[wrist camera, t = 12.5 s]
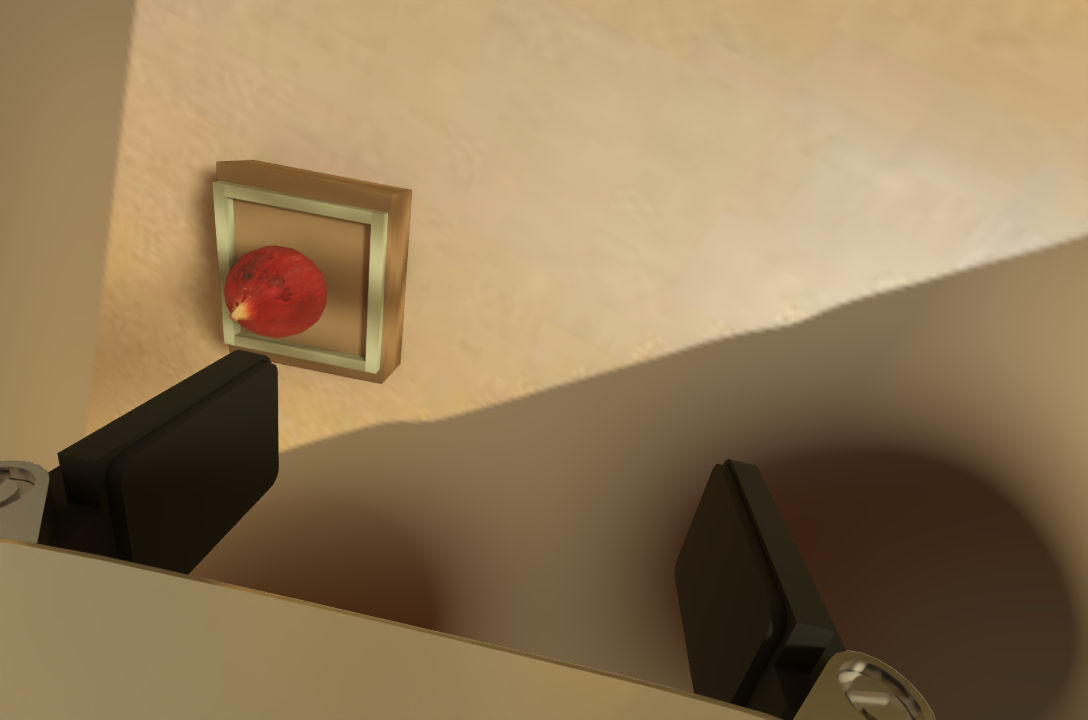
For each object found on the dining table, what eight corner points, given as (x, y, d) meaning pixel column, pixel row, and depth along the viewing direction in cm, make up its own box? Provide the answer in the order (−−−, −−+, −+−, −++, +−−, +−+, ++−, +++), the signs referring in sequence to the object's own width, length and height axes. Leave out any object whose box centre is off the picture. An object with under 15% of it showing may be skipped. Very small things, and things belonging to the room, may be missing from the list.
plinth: (252, 159, 39) (207, 162, 34) (412, 190, 38) (387, 196, 34) (260, 336, 44) (222, 357, 40) (400, 363, 44) (377, 388, 39)
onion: (265, 231, 36) (180, 253, 29) (346, 244, 36) (280, 269, 29) (271, 311, 39) (193, 350, 31) (347, 323, 38) (287, 366, 31)
